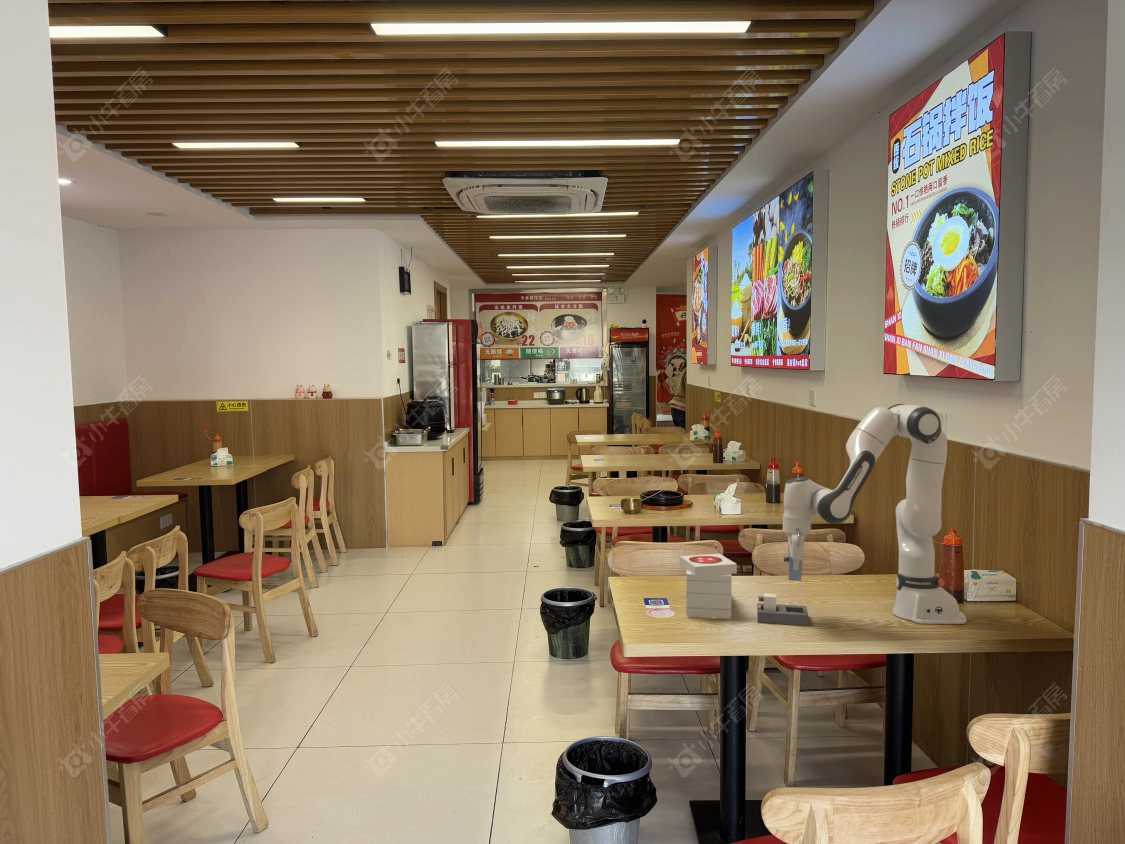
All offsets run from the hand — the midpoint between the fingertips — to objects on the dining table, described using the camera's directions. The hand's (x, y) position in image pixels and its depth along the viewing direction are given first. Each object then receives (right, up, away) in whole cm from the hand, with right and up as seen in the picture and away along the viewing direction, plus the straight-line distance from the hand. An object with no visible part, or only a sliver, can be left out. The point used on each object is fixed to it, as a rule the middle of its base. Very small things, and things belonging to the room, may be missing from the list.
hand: (795, 567), depth 255 cm
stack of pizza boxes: (-26, -17, +17) cm, 35 cm away
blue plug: (0, -4, 0) cm, 4 cm away
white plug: (-8, -18, +3) cm, 20 cm away
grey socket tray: (-4, -18, +2) cm, 18 cm away
